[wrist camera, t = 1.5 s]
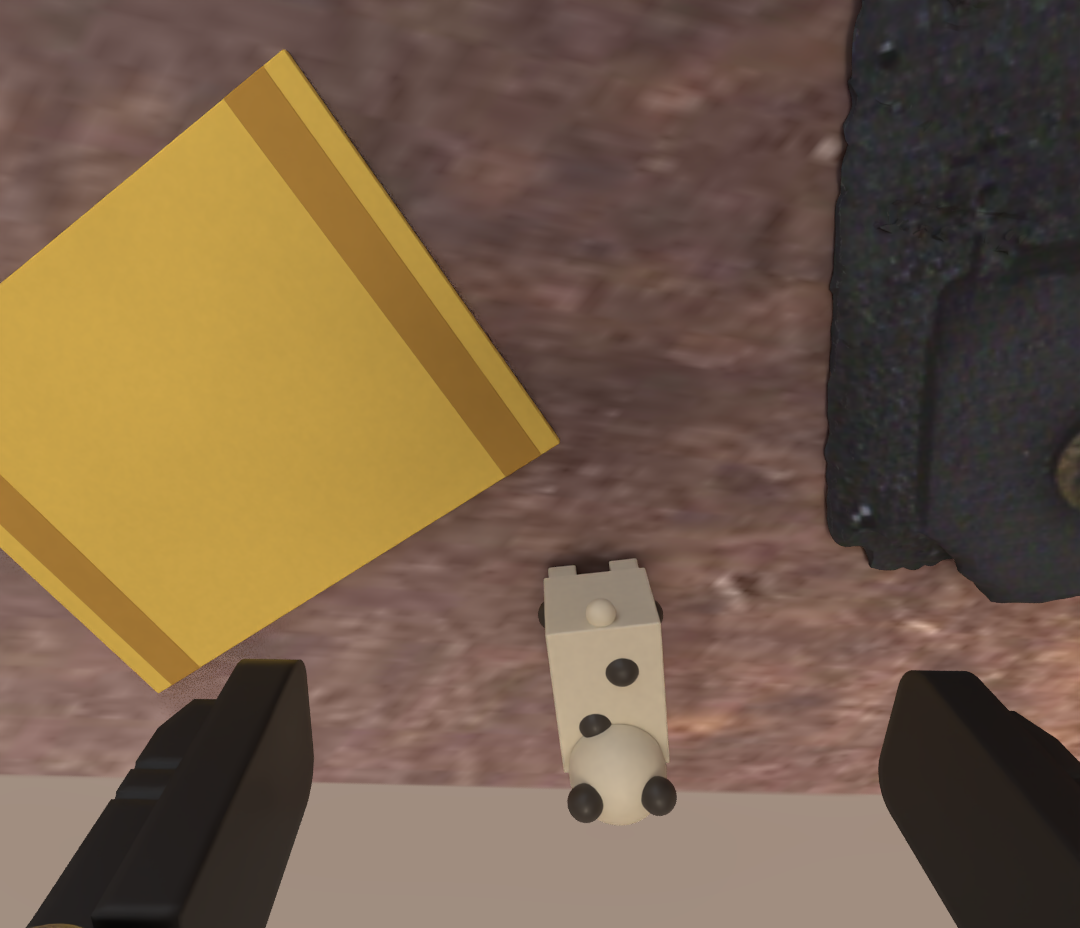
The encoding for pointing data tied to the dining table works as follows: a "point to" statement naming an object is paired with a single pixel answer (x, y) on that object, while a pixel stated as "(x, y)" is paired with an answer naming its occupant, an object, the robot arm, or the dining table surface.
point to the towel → (239, 386)
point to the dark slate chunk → (960, 295)
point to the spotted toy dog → (609, 691)
